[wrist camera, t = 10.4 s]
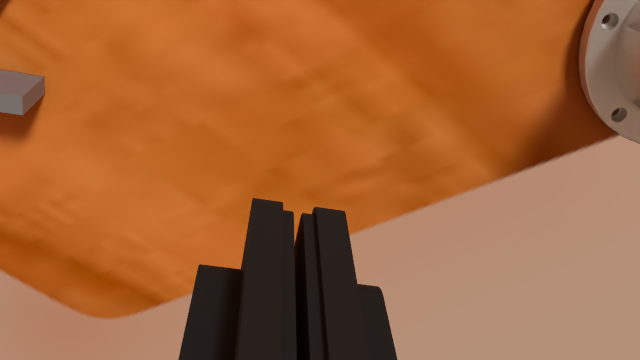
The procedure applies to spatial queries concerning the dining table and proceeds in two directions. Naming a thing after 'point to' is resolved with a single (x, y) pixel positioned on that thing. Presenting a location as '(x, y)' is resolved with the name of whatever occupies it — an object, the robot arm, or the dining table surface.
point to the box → (19, 91)
